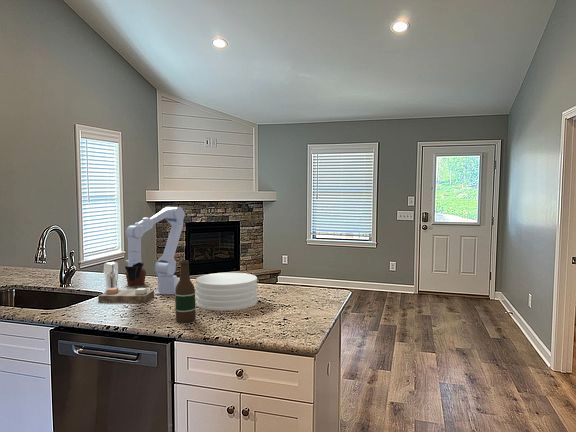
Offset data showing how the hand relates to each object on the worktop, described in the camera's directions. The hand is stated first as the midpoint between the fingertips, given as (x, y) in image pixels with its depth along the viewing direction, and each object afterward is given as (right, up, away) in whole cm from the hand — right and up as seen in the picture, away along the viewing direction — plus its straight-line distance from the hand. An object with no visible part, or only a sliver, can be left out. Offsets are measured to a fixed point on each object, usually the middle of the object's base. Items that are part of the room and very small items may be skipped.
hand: (134, 279), depth 207 cm
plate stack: (+44, -10, -4) cm, 45 cm away
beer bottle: (+32, -12, -32) cm, 47 cm away
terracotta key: (-12, -8, +3) cm, 14 cm away
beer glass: (-18, -9, +17) cm, 26 cm away
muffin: (-12, -8, +36) cm, 39 cm away
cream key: (+2, -8, +2) cm, 8 cm away
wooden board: (-5, -10, +2) cm, 11 cm away
